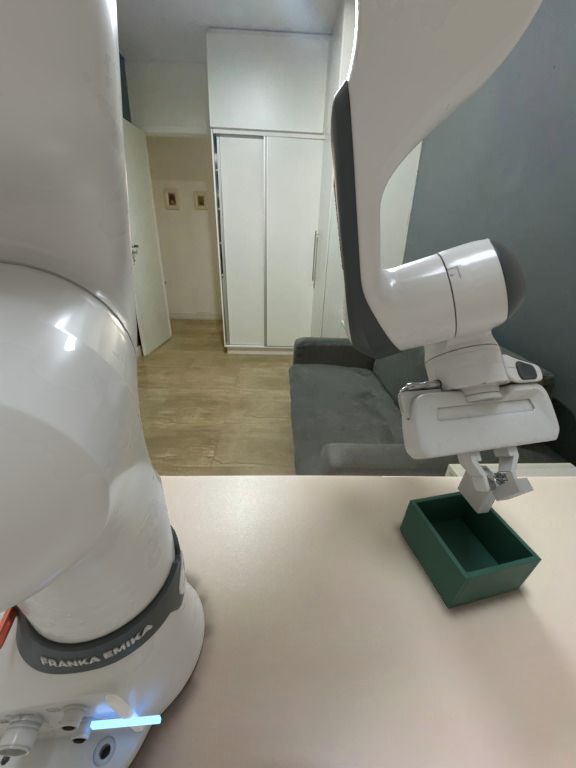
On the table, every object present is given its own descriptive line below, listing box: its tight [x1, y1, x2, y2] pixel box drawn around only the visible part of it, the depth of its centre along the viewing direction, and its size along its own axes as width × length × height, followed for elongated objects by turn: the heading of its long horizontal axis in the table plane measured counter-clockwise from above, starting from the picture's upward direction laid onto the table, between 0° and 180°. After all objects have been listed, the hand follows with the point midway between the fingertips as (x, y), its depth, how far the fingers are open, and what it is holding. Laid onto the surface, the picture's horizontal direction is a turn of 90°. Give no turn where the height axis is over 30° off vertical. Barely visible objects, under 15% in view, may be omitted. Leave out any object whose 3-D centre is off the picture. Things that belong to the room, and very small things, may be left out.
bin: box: [399, 490, 543, 609], centre depth 43 cm, size 11×11×6 cm
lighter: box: [457, 464, 535, 513], centre depth 37 cm, size 7×2×8 cm, turn 10°
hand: (497, 489), depth 37 cm, fingers closed on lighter, 2 cm apart
